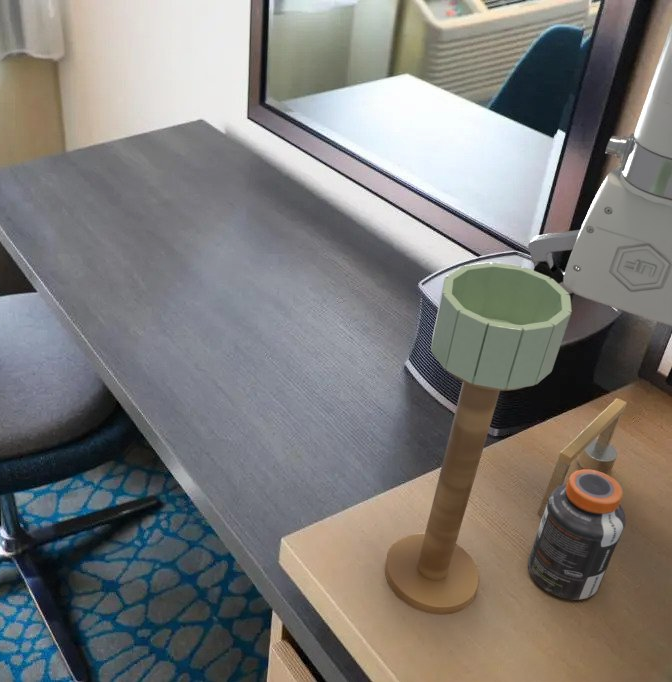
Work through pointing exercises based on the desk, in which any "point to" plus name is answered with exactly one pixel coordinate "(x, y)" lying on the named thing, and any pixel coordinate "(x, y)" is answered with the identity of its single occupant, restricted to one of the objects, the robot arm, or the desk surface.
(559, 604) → the desk surface
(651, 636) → the desk surface
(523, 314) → the bowl
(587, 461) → the wood-topped metal bracket
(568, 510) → the pill bottle
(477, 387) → the stand
